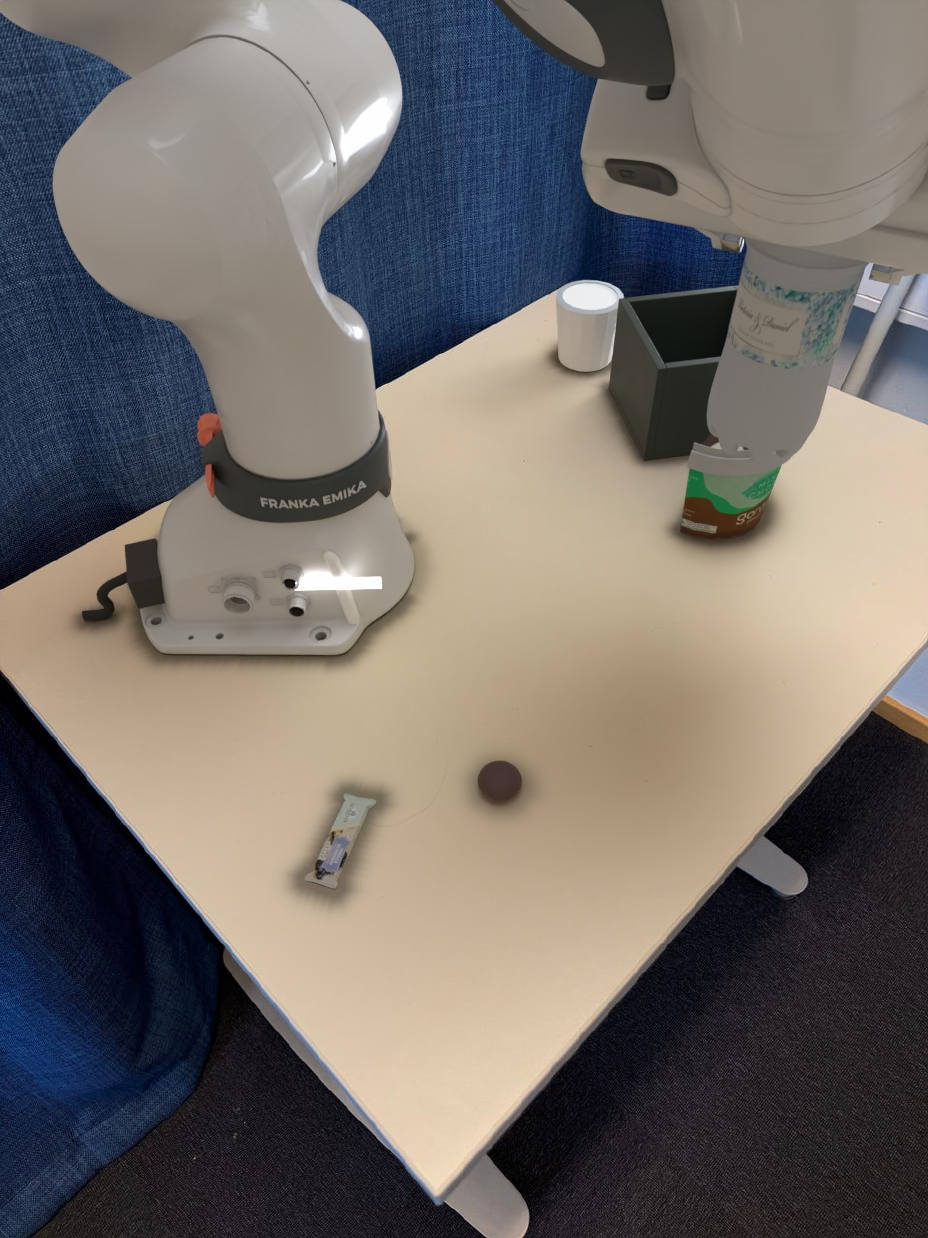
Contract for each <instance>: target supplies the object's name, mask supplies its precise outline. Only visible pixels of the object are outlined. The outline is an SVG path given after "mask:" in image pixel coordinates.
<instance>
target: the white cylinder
mask: <svg viewBox="0 0 928 1238" xmlns="http://www.w3.org/2000/svg"><path fill="white" fill-rule="evenodd" d="M621 298H625V296H624V293H623V292H622V290H621V289H620V288H619V287H617V286H615V285H613V284H612V283H609V282H606V281H601V280H593V279H581V280H576V281H571V282H569V283H566V284H565V285H562V286H561V287H560V288H559V289H558V290H557V291H556V297H555V301H556V302H555V305H556V327H557V329H556V331H557V353H558V357H557V358H558V360H559V361H560V363H561V365H563V366H564V367H566V368H568V369H569V370H572V371H577V372H585V373H586V372H587V373H591V372H595V371H600V370H602V369H604V368H606V367H608V365H609V364H610V363H611V362H612V355H613V346H614V338H615V329H616V320H617V311H618V302H619V299H621Z"/></svg>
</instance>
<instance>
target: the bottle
mask: <svg viewBox="0 0 928 1238" xmlns="http://www.w3.org/2000/svg"><path fill="white" fill-rule="evenodd" d="M744 242H745V244H746V252H745V256H744V259H743V264H742V268H741V272H740V277H739V281H738V285H737V286H738V290H737V294H736V298H735V303H734V307H733V311H732V316H731V320H730V324H729V328H728V334H727V338H726V342H725V346H724V349H723V352H722V355H721V358H720V361H719V364H718V367H717V371H716V374H715V377H714V381H713V384H712V387H711V392H710V396H709V400H708V408H707V425H708V429H709V431H710V433H711V434H712V435H713V436H715V437H718V438H719V443H720V447H721V448H722V450H724V451H725V452H727V453H728V454H734V453H735V452H736V451H737V450H738V447H739V446H742V447H745V448H748V449H749V450H750V451H751V460H752V461H753V462H756V463H763V462H764V461H766V460H767V459H768V458H769V457H770V455H771V454H772V453H774V452H775V451H776V455H777V456H778V457H779V458H782V459H786V458H789V457H791V456H792V457H793V456H794V455H796V454H797V453H798V452H799V451H800V450H801V449H802V448H803V446H804V445H805V444H806V441H807V440H808V438H809V437H810V435H811V434H812V433H813V431H814V430H815V428H816V425H817V423H818V421H819V419H820V416H821V413H822V410H823V406H824V402H825V398H826V395H827V390H828V387H829V382H830V378H831V375H832V371H833V367H834V362H835V360H836V356H837V354H838V351H839V349H840V345H841V342H842V340H843V337H844V334H845V330H846V328H847V324H848V322H849V318H850V315H851V313H852V310H853V307H854V305H855V300H856V298H857V294H858V292H859V289H860V286H861V284H862V280H863V278H864V274H865V270H866V267H867V266H868V265H869V264H870V263H869V262H864V261H859V260H854V259H849V258H844V257H839V256H834V255H829V254H823V253H818V252H813V251H808V250H803V249H798V248H793V247H788V246H783V245H778V244H773V243H768V242H763V241H758V240H753V239H748V238H744ZM792 457H791V458H792Z"/></svg>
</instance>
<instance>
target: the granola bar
mask: <svg viewBox="0 0 928 1238" xmlns="http://www.w3.org/2000/svg"><path fill="white" fill-rule="evenodd" d="M343 799H344V801H343V803H342V804H341V807H340V809H339V811H338V813H337V816H336V817H335V820H334V822H333V824H332V826H331V828H330V830H329V833H328V835H327V837H326V839H325V841H324V843H323V845H322V848H321V850H320V851H319V854H318V856H317V858H316V861H315V863H314V865H313V867H312V871H311V872H308V873H307V874H305V877H304V879H303V881H304V882H311V883H316V884H318V885H322V886H325V887H327V888H330V889H333V890H334V889H337V887H338V886H339V882H338V880H339V878H340V876H341V874H342V871H343V870H344V867H345V866H346V863H347V860H348V859H349V856H350V854H351V852H352V849H353V847H354V845H355V842H356V840H357V838H358V836H359V834H360V831H361V828H362V827H363V824H364V822H365V820H366V818H367V815H368V813H369V810H370V809H372V808H373V807H374V806H375V805H376V804H377V801H378V800H376V799H374V798H370V797H360V796H357V795H353V794H350V793H344V795H343Z"/></svg>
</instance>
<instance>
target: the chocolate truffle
mask: <svg viewBox="0 0 928 1238" xmlns="http://www.w3.org/2000/svg"><path fill="white" fill-rule="evenodd" d="M477 785H478V786H477V787H478V789H479V791H480V792H481V793H482V795H484V796H485V797H486V798H487V799H489V800H492V801H496V802H504V801H508V800H510V799H513V797H516V796H517V795H518V794H519V792H520V790H521V789H522V785H523V777H522V774H521V771H520V770H519V769H518V768H517V766H516V765H514V764H513V763H511V762H509V761H505V760H494V761H491V762H489V763H486V764H485V765H484V766H482V768H481V769H480V770H479V773H478V775H477Z"/></svg>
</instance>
